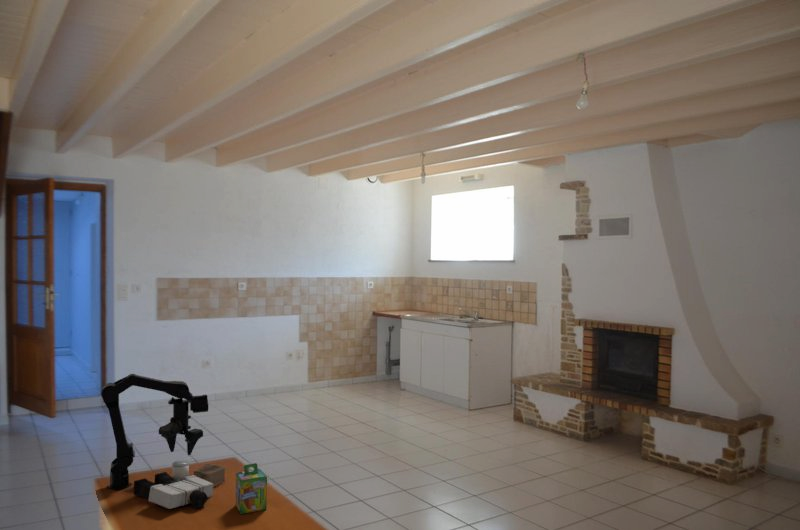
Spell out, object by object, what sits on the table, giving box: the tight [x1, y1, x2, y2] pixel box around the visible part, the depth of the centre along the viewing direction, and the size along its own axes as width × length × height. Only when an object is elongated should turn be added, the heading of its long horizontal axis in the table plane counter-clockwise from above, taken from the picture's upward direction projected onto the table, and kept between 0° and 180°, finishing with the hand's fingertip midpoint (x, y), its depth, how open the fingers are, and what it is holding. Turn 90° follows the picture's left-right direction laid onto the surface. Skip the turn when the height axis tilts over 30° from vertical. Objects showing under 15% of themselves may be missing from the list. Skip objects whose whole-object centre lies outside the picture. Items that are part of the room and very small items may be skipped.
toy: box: [132, 471, 214, 510], centre depth 209 cm, size 19×7×30 cm
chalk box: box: [235, 462, 268, 515], centre depth 202 cm, size 9×9×15 cm
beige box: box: [193, 463, 226, 488], centre depth 224 cm, size 8×8×6 cm
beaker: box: [171, 459, 190, 480], centre depth 230 cm, size 6×6×6 cm
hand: (180, 453), depth 230 cm, fingers open, 9 cm apart
